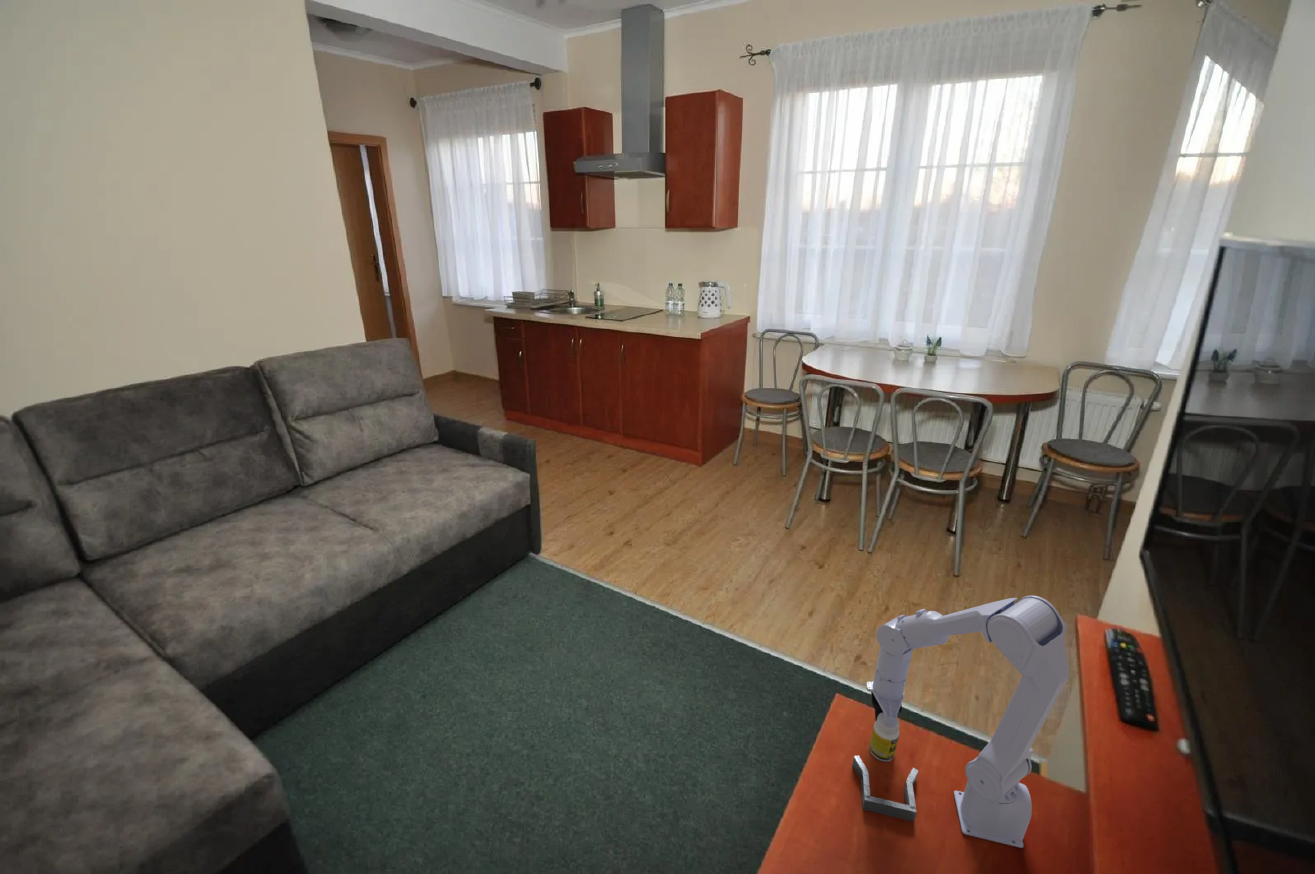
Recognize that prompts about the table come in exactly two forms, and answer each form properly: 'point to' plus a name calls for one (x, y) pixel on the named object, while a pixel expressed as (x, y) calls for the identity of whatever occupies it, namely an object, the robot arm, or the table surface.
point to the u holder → (883, 805)
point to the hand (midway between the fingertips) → (880, 722)
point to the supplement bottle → (884, 739)
